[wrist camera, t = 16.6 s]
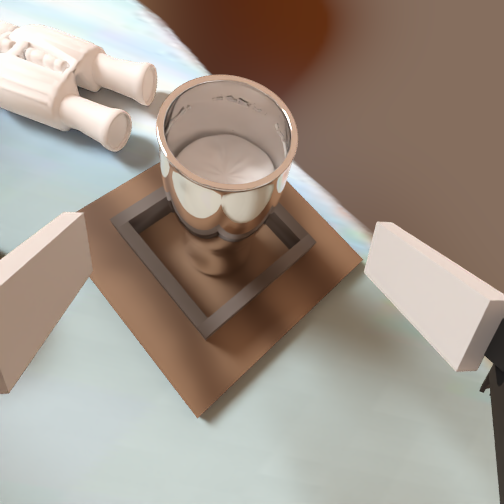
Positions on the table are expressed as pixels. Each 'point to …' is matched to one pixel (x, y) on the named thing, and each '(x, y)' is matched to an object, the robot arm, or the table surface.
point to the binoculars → (69, 82)
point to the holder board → (208, 284)
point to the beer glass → (223, 165)
